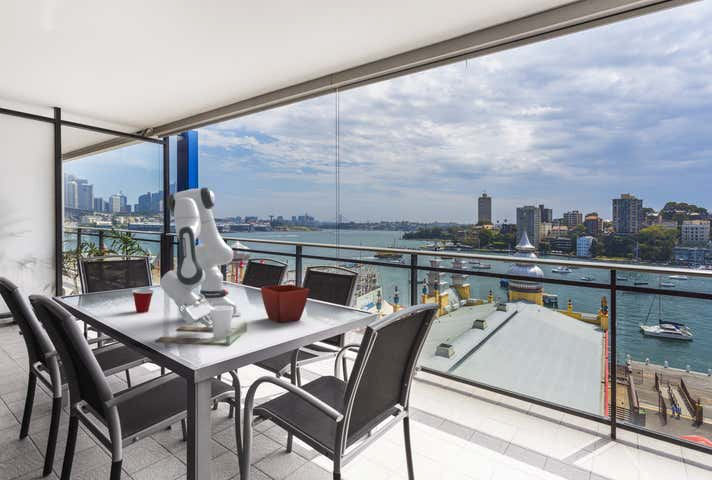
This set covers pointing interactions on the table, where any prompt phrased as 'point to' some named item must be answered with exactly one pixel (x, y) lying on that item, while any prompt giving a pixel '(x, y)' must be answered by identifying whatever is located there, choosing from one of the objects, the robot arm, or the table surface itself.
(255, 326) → the table surface
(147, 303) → the plastic cup
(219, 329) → the foam cup
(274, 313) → the plant pot
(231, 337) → the runway box
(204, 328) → the trap pads
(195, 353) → the table surface
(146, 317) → the table surface
